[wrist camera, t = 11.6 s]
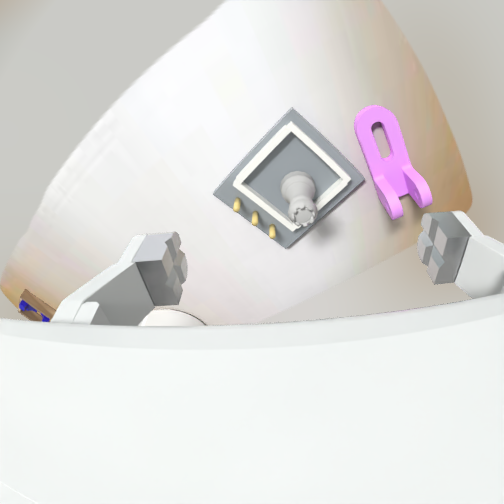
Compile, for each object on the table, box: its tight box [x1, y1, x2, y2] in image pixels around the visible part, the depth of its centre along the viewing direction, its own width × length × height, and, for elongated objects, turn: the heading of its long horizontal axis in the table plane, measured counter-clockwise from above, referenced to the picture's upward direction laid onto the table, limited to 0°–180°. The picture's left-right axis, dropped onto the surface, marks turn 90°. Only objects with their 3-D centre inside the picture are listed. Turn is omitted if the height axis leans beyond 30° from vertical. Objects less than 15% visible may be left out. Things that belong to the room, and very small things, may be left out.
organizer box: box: [18, 289, 56, 322], centre depth 58 cm, size 7×11×2 cm, turn 50°
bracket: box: [354, 105, 432, 220], centre depth 33 cm, size 13×6×7 cm, turn 28°
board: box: [213, 108, 365, 249], centre depth 38 cm, size 15×13×4 cm
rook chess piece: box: [280, 171, 318, 228], centre depth 36 cm, size 4×4×8 cm
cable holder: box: [19, 300, 51, 322], centre depth 57 cm, size 8×4×4 cm, turn 50°
